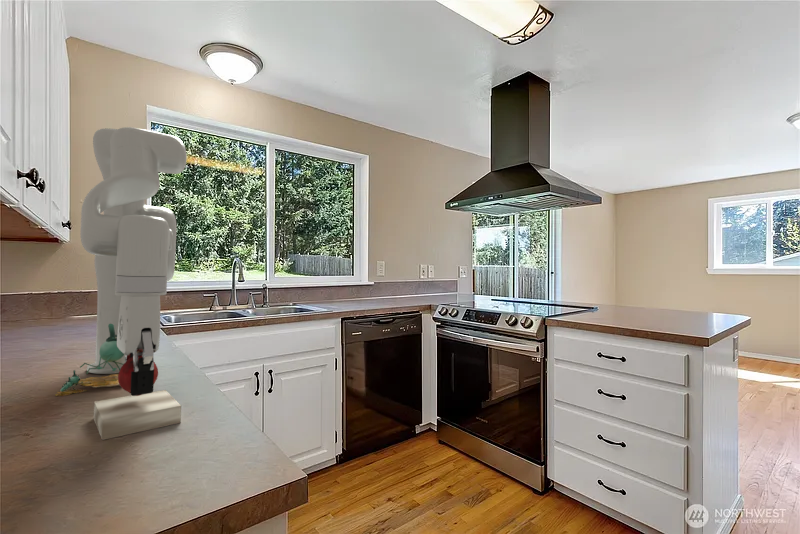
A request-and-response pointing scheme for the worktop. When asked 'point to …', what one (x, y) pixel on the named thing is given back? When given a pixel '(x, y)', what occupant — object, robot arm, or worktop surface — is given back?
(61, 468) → the worktop surface
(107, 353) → the frog figurine
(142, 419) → the white rectangular block
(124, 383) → the onion
